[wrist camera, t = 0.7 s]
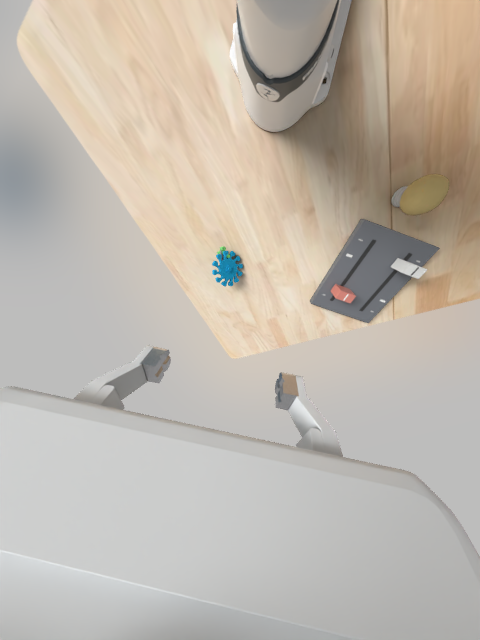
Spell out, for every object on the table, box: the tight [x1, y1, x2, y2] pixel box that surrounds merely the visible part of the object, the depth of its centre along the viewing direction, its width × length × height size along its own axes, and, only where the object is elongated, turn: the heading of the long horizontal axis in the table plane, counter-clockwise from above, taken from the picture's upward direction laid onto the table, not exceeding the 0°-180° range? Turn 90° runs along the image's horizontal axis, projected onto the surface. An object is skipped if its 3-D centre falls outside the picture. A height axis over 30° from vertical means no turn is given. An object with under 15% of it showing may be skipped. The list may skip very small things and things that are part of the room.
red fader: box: [331, 284, 356, 303], centre depth 48 cm, size 2×4×5 cm, turn 73°
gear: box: [212, 247, 243, 286], centre depth 50 cm, size 11×6×10 cm
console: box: [310, 219, 440, 323], centre depth 48 cm, size 24×20×2 cm
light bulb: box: [391, 174, 449, 215], centre depth 34 cm, size 6×6×10 cm
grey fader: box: [391, 258, 427, 279], centre depth 42 cm, size 2×4×5 cm, turn 73°
